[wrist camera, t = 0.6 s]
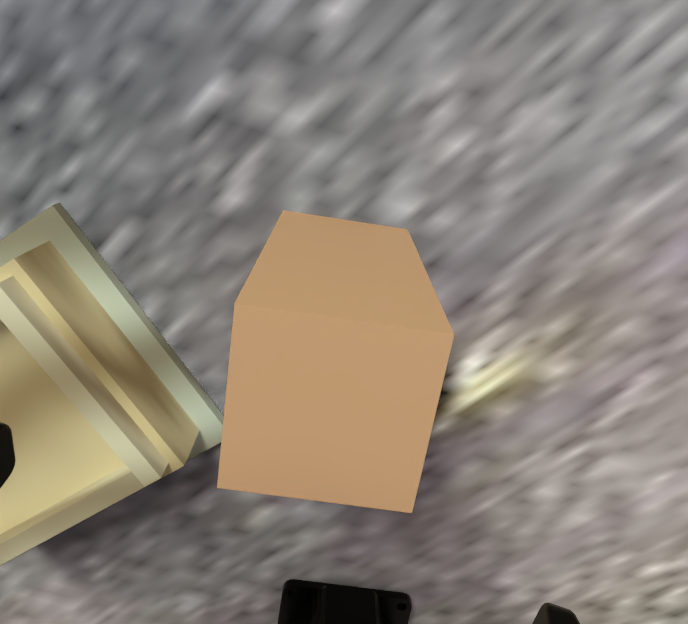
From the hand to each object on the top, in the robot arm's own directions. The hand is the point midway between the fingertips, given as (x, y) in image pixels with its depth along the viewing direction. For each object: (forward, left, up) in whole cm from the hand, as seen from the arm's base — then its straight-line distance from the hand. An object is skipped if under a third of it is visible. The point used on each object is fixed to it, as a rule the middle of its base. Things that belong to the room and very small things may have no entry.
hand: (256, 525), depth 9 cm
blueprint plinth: (-8, +11, -16) cm, 21 cm away
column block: (-1, -1, -16) cm, 16 cm away
